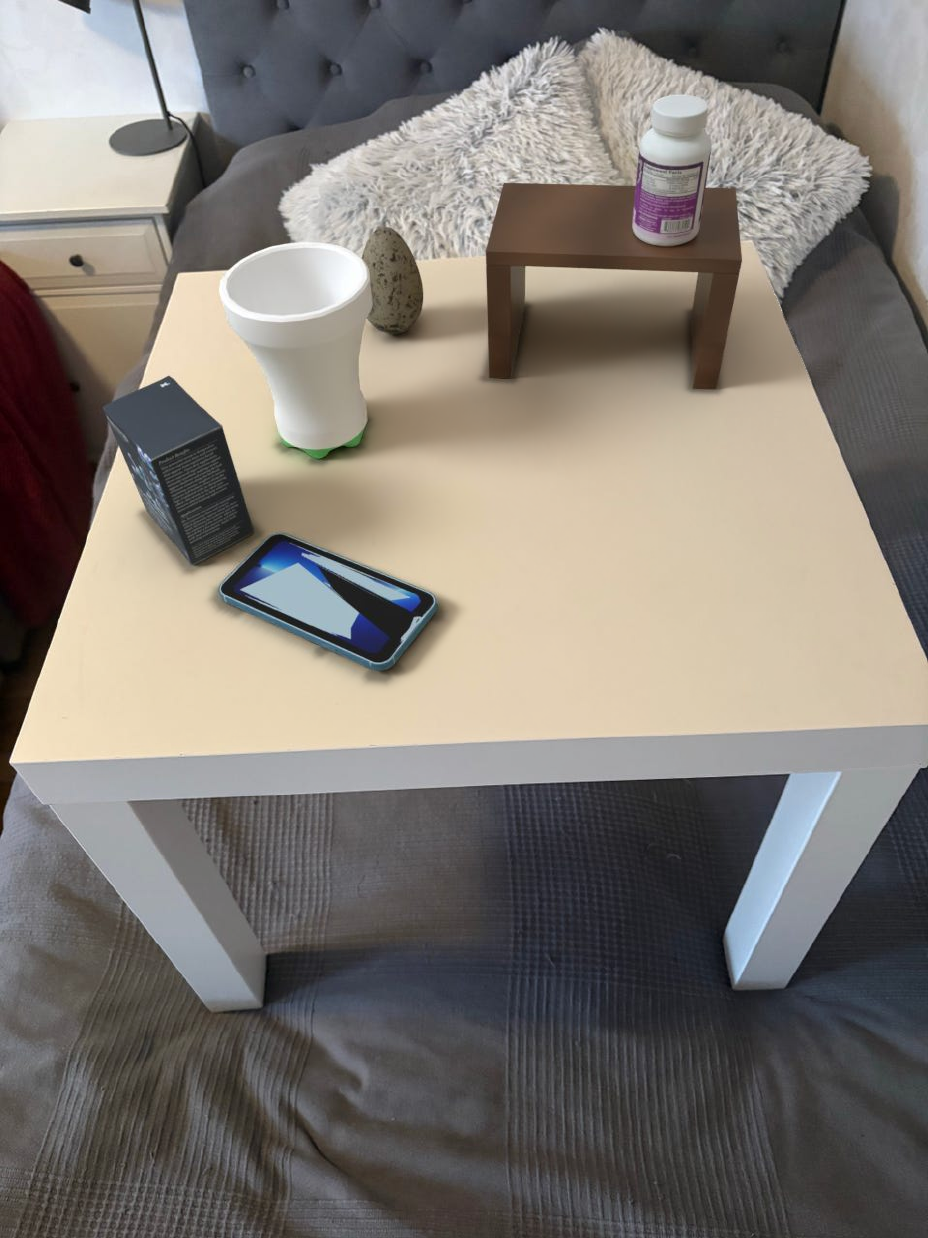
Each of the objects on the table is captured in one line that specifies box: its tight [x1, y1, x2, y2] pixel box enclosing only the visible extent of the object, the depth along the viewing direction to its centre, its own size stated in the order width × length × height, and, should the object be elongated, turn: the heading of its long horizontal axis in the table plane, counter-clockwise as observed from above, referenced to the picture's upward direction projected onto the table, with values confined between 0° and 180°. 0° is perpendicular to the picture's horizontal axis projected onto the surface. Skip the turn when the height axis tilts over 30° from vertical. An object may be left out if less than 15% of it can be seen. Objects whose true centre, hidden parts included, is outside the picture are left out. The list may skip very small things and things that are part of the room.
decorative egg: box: [361, 226, 424, 335], centre depth 84 cm, size 6×6×10 cm
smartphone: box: [218, 532, 438, 672], centre depth 65 cm, size 7×1×15 cm
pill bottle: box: [632, 93, 713, 247], centre depth 70 cm, size 5×5×10 cm
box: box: [102, 375, 255, 565], centre depth 68 cm, size 8×6×11 cm
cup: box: [218, 241, 373, 459], centre depth 73 cm, size 11×11×14 cm
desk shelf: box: [485, 182, 743, 390], centre depth 80 cm, size 20×12×12 cm, turn 82°
